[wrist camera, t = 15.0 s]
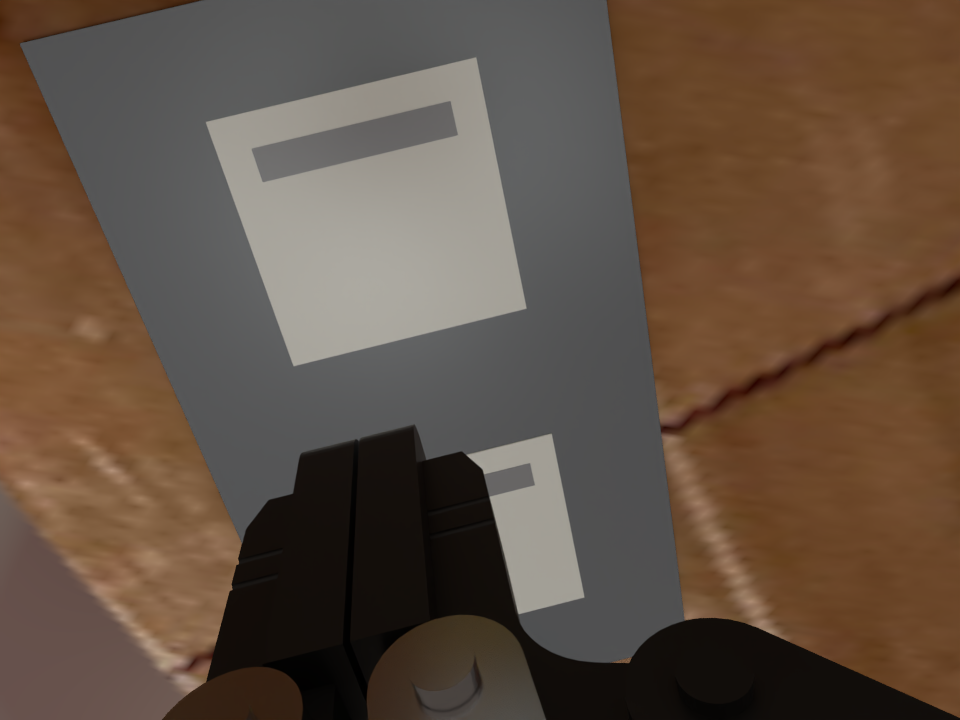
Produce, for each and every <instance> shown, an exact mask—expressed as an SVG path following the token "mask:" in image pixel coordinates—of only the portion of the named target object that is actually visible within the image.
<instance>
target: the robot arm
mask: <svg viewBox="0 0 960 720" xmlns="http://www.w3.org/2000/svg"><path fill="white" fill-rule="evenodd" d="M238 560H239V565H236V569H235V573H234V577H233V581H232V588H233V590H232V591H230V592H229V596H228V600H227V604H226V608H225V612H224V615H223V619H222V623H221V627H220V631H219V635H218V638H217V642H216V646H215V650H214V654H213V658H212V662H211V665H210V669H209V673H208V677H207V681H206V683H204V684H202V685H201V686H199V687H198V688H196V689H195V690H193V691H192V692H190V693H189V694H188V695H187V696H185V697H184V698H183V699H182V700H180V701H179V702H178V703H177V704H176V705H175V706H174V707H173V708H172V709H171V710H170V711H169V712H168V713H167V714H166V716H165V717H164V718H163V719H162V720H960V718H958V717H956V716H954V715H952V714H950V713H947V712H945V711H943V710H941V709H938V708H936V707H934V706H932V705H929V704H927V703H925V702H923V701H920V700H918V699H916V698H914V697H911V696H909V695H907V694H905V693H902V692H900V691H898V690H896V689H893V688H891V687H889V686H887V685H884V684H882V683H880V682H878V681H875V680H873V679H871V678H869V677H867V676H864V675H862V674H860V673H858V672H855V671H853V670H851V669H849V668H846V667H844V666H842V665H840V664H837V663H835V662H833V661H831V660H828V659H826V658H824V657H822V656H819V655H817V654H815V653H813V652H810V651H808V650H806V649H804V648H801V647H799V646H797V645H795V644H792V643H790V642H788V641H786V640H784V639H781V638H779V637H777V636H775V635H772V634H770V633H768V632H766V631H763V630H761V629H759V628H756V627H754V626H751V625H748V624H745V623H742V622H738V621H733V620H729V619H719V618H699V619H692V620H686V621H682V622H679V623H676V624H672V625H670V626H668V627H666V628H664V629H662V630H659V631H658V632H656V633H655V634H654V635H652V636H651V637H649V638H648V639H647V640H646V641H645V642H644V643H643V644H642V645H641V646H640V647H639V648H638V649H637V651H636V652H635V654H634V655H633V657H632V659H631V661H630V663H602V662H587V661H578V660H574V659H570V658H565V657H563V656H560V655H557V654H555V653H552V652H551V651H549V650H547V649H545V648H543V647H542V646H540V645H539V644H538V643H536V642H535V641H534V640H533V639H532V638H531V637H530V636H529V635H528V634H527V633H526V632H525V631H524V629H523V627H522V626H521V623H520V619H519V614H518V610H517V606H516V602H515V597H514V593H513V589H512V585H511V580H510V576H509V572H508V568H507V563H506V559H505V555H504V551H503V547H502V543H501V540H500V536H499V532H498V528H497V524H496V520H495V516H494V512H493V508H492V504H491V500H490V496H489V492H488V488H487V484H486V480H485V476H484V473H483V469H482V468H481V467H479V466H478V465H477V464H476V463H475V462H474V461H473V460H471V459H470V458H469V457H468V456H467V455H466V454H464V453H463V452H462V451H460V452H456V453H452V454H448V455H444V456H440V457H436V458H432V459H428V460H426V457H425V453H424V450H423V446H422V443H421V440H420V436H419V433H418V431H417V428H416V426H415V424H413V425H409V426H405V427H401V428H397V429H393V430H389V431H385V432H381V433H377V434H373V435H369V436H365V437H361V438H360V440H359V441H358V439H354V440H350V441H346V442H342V443H338V444H334V445H330V446H326V447H322V448H318V449H314V450H310V451H306V452H302V453H301V454H300V457H299V462H298V468H297V473H296V479H295V484H294V490H293V494H290V495H286V496H282V497H278V498H274V499H270V500H268V501H267V502H266V504H265V505H264V506H263V508H262V509H261V510H260V512H259V513H258V514H257V515H256V517H255V518H254V519H253V521H252V522H251V523H250V524H249V526H248V527H247V528H246V531H245V535H244V539H243V542H242V546H241V550H240V554H239V558H238Z"/></svg>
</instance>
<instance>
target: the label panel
mask: <svg viewBox="0 0 960 720" xmlns="http://www.w3.org/2000/svg"><path fill="white" fill-rule="evenodd" d="M20 45H21V48H22V50H23V52H24V54H25V57H26V59H27V61H28V63H29V66H30V68H31V70H32V72H33V75H34V77H35V79H36V81H37V83H38V86H39V88H40V90H41V92H42V95H43V97H44V99H45V101H46V104H47V106H48V108H49V110H50V113H51V115H52V117H53V119H54V122H55V124H56V126H57V128H58V131H59V133H60V135H61V137H62V140H63V142H64V144H65V146H66V149H67V151H68V153H69V155H70V158H71V160H72V162H73V164H74V167H75V169H76V171H77V173H78V176H79V178H80V180H81V182H82V185H83V187H84V189H85V191H86V194H87V196H88V198H89V200H90V203H91V205H92V207H93V209H94V212H95V214H96V216H97V218H98V221H99V223H100V225H101V227H102V230H103V232H104V234H105V236H106V239H107V241H108V243H109V245H110V248H111V250H112V252H113V254H114V257H115V259H116V261H117V263H118V266H119V268H120V270H121V272H122V275H123V277H124V279H125V281H126V284H127V286H128V288H129V290H130V293H131V295H132V297H133V299H134V301H135V304H136V306H137V308H138V310H139V313H140V315H141V317H142V319H143V322H144V324H145V326H146V328H147V331H148V333H149V335H150V337H151V340H152V342H153V344H154V346H155V349H156V351H157V353H158V355H159V358H160V360H161V362H162V364H163V367H164V369H165V371H166V373H167V376H168V378H169V380H170V382H171V385H172V387H173V389H174V391H175V394H176V396H177V398H178V400H179V403H180V405H181V407H182V409H183V412H184V414H185V416H186V418H187V421H188V423H189V425H190V427H191V430H192V432H193V434H194V436H195V439H196V441H197V443H198V445H199V448H200V450H201V452H202V454H203V457H204V459H205V461H206V463H207V466H208V468H209V470H210V472H211V475H212V477H213V479H214V481H215V484H216V486H217V488H218V490H219V493H220V495H221V497H222V499H223V502H224V504H225V506H226V508H227V510H228V513H229V515H230V517H231V519H232V522H233V524H234V526H235V528H236V531H237V533H238V535H239V537H240V540H241V542H243V539H244V535H245V531H246V528H247V527H248V526H249V524H250V523H251V522H252V521H253V519H254V518H255V517H256V515H257V514H258V513H259V512H260V510H261V509H262V508H263V506H264V505H265V504H266V502H267V501H268V500H270V499H274V498H278V497H282V496H286V495H290V494H293V490H294V484H295V479H296V473H297V468H298V462H299V457H300V454H301V453H302V452H306V451H310V450H314V449H318V448H322V447H326V446H330V445H334V444H338V443H342V442H346V441H350V440H354V439H358V441H359V440H360V438H361V437H365V436H369V435H373V434H377V433H381V432H385V431H389V430H393V429H397V428H401V427H405V426H409V425H413V424H415V426H416V428H417V431H418V433H419V436H420V440H421V443H422V446H423V450H424V453H425V457H426V460H428V459H432V458H436V457H440V456H444V455H448V454H452V453H456V452H460V451H462V452H463V453H464V454H466V455H467V456H468V457H469V458H470V459H471V460H473V461H474V462H475V463H476V464H477V465H478V466H479V467H481V468H482V469H483V473H484V476H485V480H486V484H487V488H488V492H489V496H490V500H491V504H492V508H493V512H494V516H495V520H496V524H497V528H498V532H499V536H500V540H501V543H502V547H503V551H504V555H505V559H506V563H507V568H508V572H509V576H510V580H511V585H512V589H513V593H514V597H515V602H516V606H517V610H518V614H519V619H520V623H521V626H522V627H523V629H524V631H525V632H526V633H527V634H528V635H529V636H530V637H531V638H532V639H533V640H534V641H535V642H536V643H538V644H539V645H540V646H542V647H543V648H545V649H547V650H549V651H551V652H552V653H555V654H557V655H560V656H563V657H565V658H570V659H574V660H578V661H587V662H602V663H610V662H614V661H618V660H622V659H626V658H629V657H633V655H634V654H635V652H636V651H637V649H638V648H639V647H640V646H641V645H642V644H643V643H644V642H645V641H646V640H647V639H648V638H649V637H651V636H652V635H654V634H655V633H656V632H658V631H659V630H662V629H664V628H666V627H668V626H670V625H672V624H676V623H679V622H682V621H685V620H684V612H683V604H682V596H681V588H680V580H679V572H678V565H677V557H676V549H675V541H674V533H673V525H672V517H671V509H670V501H669V493H668V485H667V477H666V469H665V461H664V453H663V445H662V437H661V430H660V422H659V414H658V406H657V398H656V390H655V382H654V374H653V366H652V358H651V350H650V342H649V334H648V326H647V318H646V310H645V303H644V295H643V287H642V279H641V271H640V263H639V255H638V247H637V239H636V231H635V223H634V215H633V207H632V199H631V191H630V183H629V175H628V168H627V160H626V152H625V144H624V136H623V128H622V120H621V112H620V104H619V96H618V88H617V80H616V72H615V64H614V56H613V48H612V41H611V33H610V25H609V17H608V9H607V1H606V0H202V1H198V2H194V3H189V4H185V5H181V6H177V7H172V8H168V9H164V10H160V11H156V12H151V13H147V14H143V15H139V16H134V17H130V18H126V19H122V20H117V21H113V22H109V23H105V24H100V25H96V26H92V27H88V28H83V29H79V30H75V31H71V32H66V33H62V34H58V35H54V36H49V37H45V38H41V39H37V40H32V41H28V42H24V43H20Z"/></svg>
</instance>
